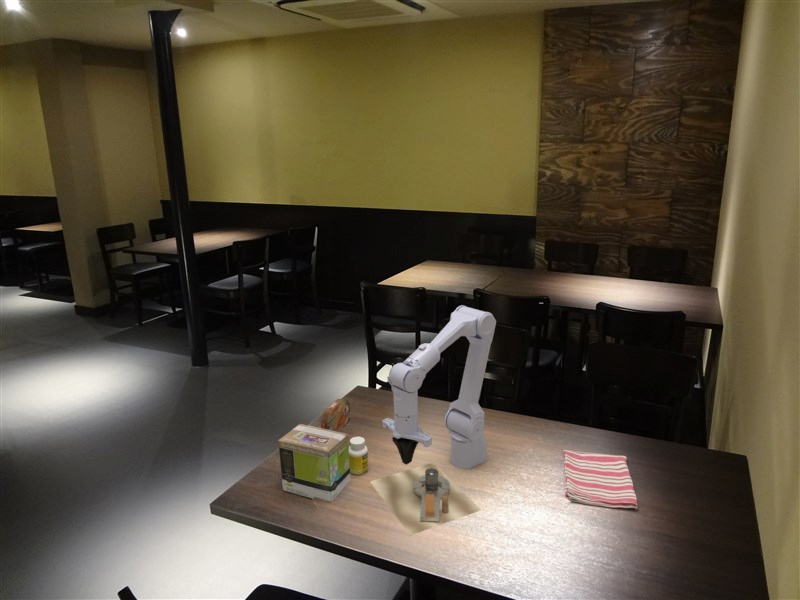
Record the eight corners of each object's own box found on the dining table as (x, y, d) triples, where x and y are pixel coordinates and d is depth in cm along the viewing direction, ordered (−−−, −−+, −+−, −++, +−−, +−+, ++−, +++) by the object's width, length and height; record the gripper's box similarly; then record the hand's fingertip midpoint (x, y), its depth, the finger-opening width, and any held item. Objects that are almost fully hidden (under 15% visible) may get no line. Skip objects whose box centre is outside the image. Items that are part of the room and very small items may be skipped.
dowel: (446, 508, 133) (446, 493, 132) (449, 512, 132) (449, 497, 131) (440, 510, 133) (440, 495, 131) (443, 514, 131) (444, 499, 130)
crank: (415, 477, 145) (414, 460, 144) (449, 478, 144) (449, 461, 143) (410, 520, 129) (409, 501, 127) (449, 521, 128) (449, 503, 127)
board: (433, 465, 153) (433, 462, 152) (481, 513, 133) (481, 509, 132) (369, 484, 145) (369, 481, 144) (410, 538, 125) (410, 535, 124)
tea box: (351, 483, 145) (349, 432, 141) (331, 505, 137) (328, 452, 133) (303, 470, 152) (300, 421, 147) (281, 491, 143) (276, 439, 139)
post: (434, 484, 143) (434, 467, 141) (440, 491, 140) (440, 473, 138) (423, 487, 141) (422, 470, 140) (429, 494, 138) (429, 477, 137)
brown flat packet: (329, 441, 166) (327, 416, 163) (320, 440, 167) (318, 414, 164) (351, 418, 179) (350, 394, 177) (342, 417, 180) (341, 393, 178)
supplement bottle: (365, 479, 147) (364, 446, 144) (345, 477, 148) (344, 444, 145) (370, 468, 152) (369, 435, 149) (351, 466, 153) (350, 434, 150)
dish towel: (564, 504, 136) (565, 492, 135) (562, 453, 158) (562, 442, 157) (638, 514, 132) (640, 501, 131) (626, 461, 154) (627, 450, 153)
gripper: (372, 408, 135) (374, 458, 139) (417, 428, 125) (418, 480, 129) (392, 398, 140) (394, 446, 144) (437, 416, 130) (437, 467, 134)
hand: (407, 462), depth 137 cm, fingers closed
